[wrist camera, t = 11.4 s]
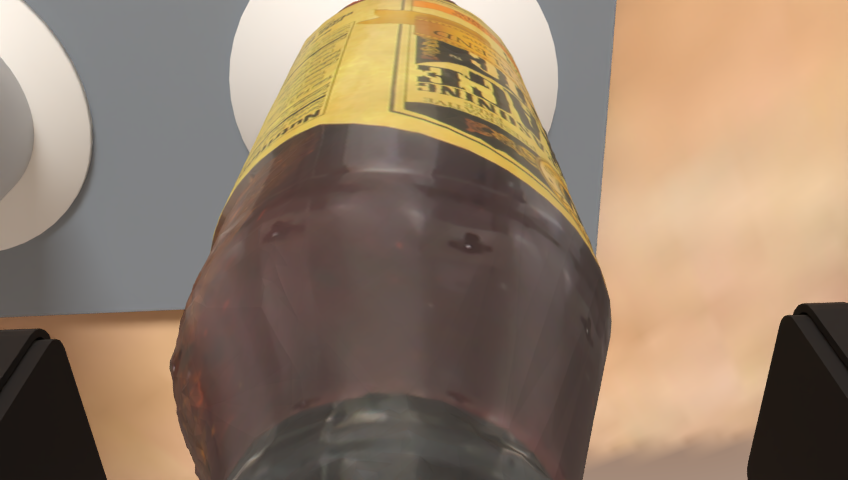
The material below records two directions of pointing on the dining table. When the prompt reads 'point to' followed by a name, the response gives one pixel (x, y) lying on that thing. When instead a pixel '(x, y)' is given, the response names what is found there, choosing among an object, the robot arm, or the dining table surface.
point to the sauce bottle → (396, 272)
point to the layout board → (206, 130)
